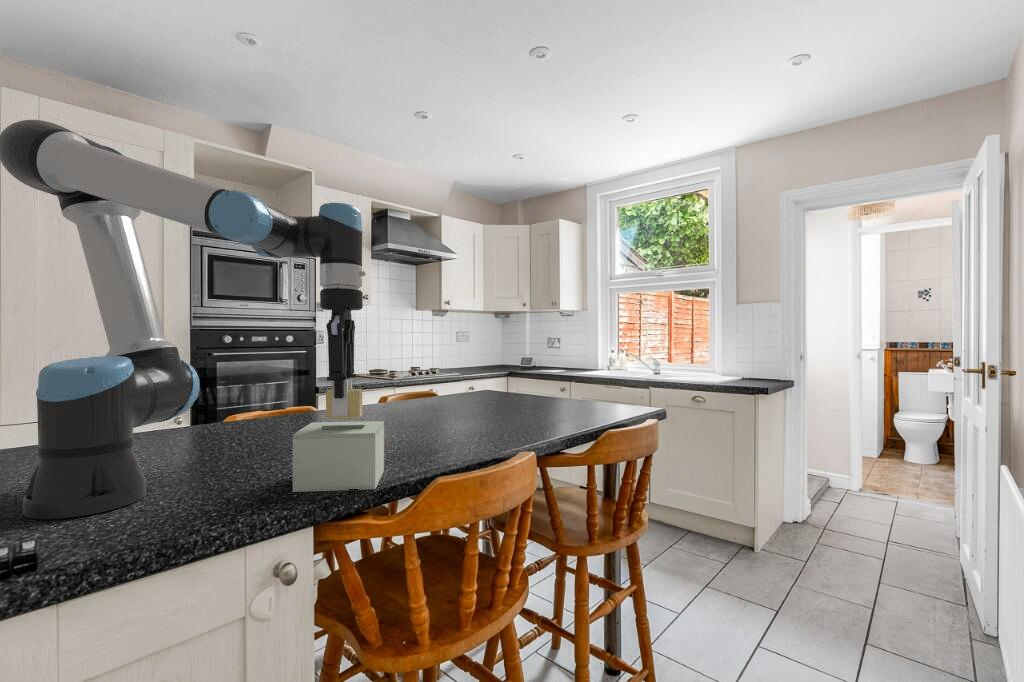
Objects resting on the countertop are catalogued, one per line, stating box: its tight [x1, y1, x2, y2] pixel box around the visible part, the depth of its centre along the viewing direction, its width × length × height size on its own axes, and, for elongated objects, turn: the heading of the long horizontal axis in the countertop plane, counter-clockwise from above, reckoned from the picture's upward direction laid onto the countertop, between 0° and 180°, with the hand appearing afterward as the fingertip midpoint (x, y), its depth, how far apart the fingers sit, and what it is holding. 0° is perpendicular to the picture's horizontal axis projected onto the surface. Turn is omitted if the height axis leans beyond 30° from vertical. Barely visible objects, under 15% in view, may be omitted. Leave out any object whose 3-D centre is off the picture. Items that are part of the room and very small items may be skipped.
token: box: [325, 388, 363, 420], centre depth 93 cm, size 6×3×5 cm, turn 97°
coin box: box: [292, 420, 385, 493], centre depth 93 cm, size 14×12×10 cm
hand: (342, 413), depth 93 cm, fingers closed on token, 3 cm apart
